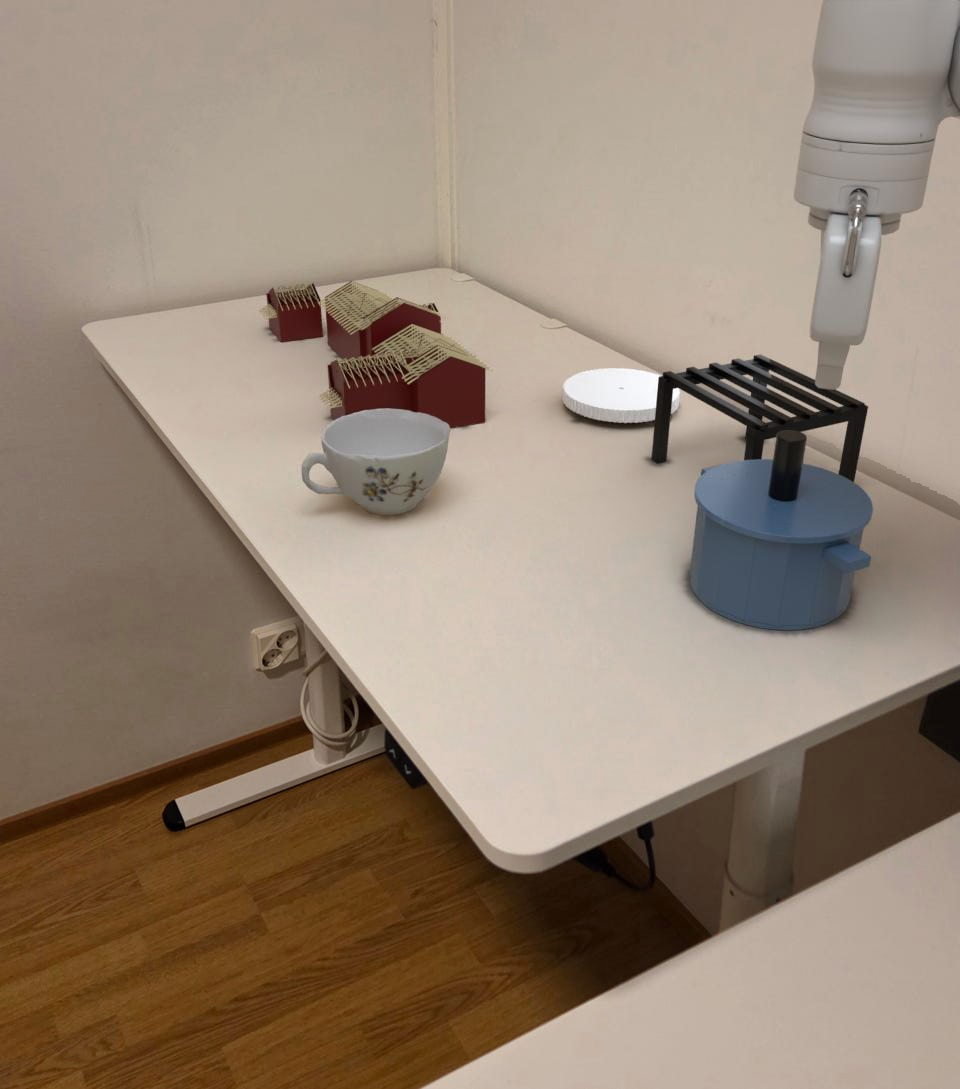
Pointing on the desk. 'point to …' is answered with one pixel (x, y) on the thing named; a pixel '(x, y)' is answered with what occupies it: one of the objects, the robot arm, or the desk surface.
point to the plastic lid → (615, 395)
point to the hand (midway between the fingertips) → (829, 364)
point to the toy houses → (383, 353)
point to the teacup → (382, 458)
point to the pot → (772, 576)
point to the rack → (762, 406)
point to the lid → (783, 497)
